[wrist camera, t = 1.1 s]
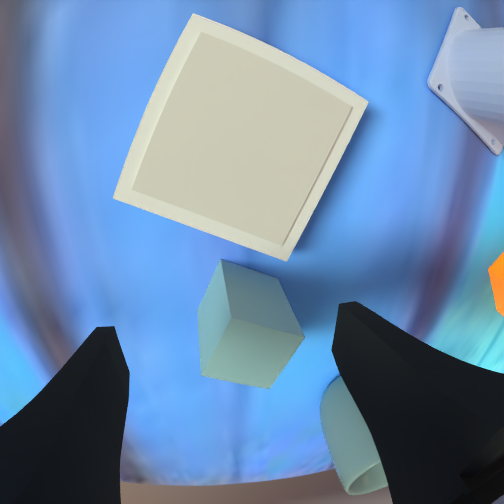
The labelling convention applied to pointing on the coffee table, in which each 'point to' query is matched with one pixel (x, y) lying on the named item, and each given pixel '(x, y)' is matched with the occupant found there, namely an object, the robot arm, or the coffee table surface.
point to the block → (246, 327)
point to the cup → (350, 441)
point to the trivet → (238, 139)
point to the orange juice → (498, 282)
